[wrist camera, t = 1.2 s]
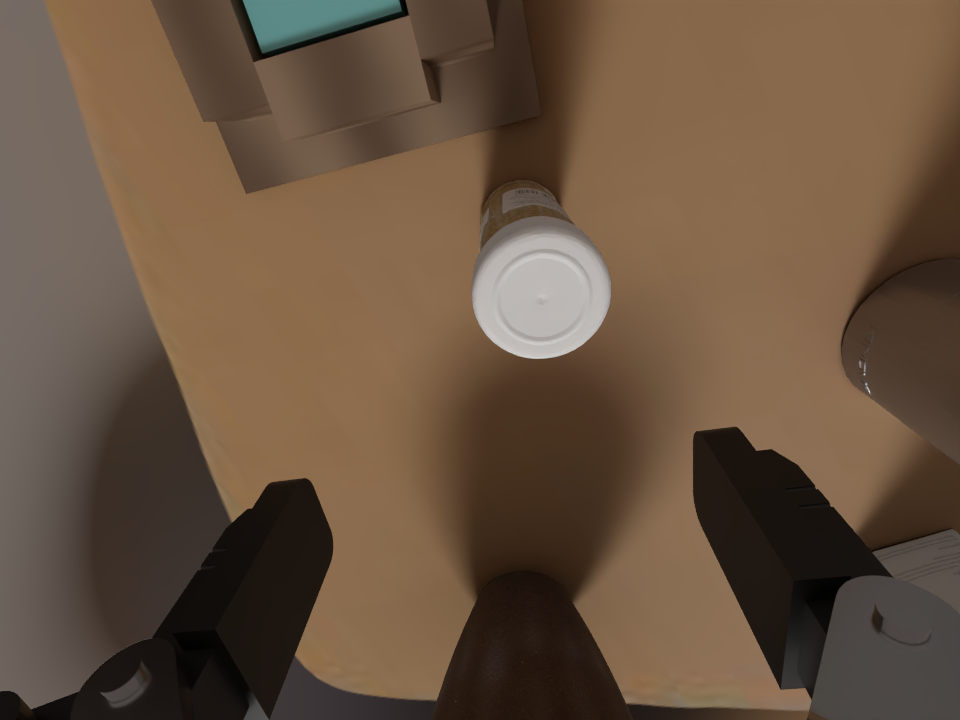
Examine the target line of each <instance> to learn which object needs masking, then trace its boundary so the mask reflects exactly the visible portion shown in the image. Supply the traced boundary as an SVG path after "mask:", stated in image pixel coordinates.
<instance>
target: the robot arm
mask: <svg viewBox="0 0 960 720" xmlns="http://www.w3.org/2000/svg"><path fill="white" fill-rule="evenodd" d="M841 351H842V364H843V367H844V370H845V373H846V375H847V377H848V378H849V379H850V381H851V382H852V383H853V385H854V386H855V387H857V388H858V389H859V390H861V391H862V392H863V393H865V394H866V395H867V396H869V397H870V398H871V399H873V400H874V401H875V402H877V403H878V404H879V405H880V406H882V407H883V408H884V409H886V410H887V411H888V412H890V413H891V414H892V415H894V416H895V417H896V418H898V419H899V420H900V421H901V422H902V423H904V424H905V425H906V426H908V427H909V428H910V429H912V430H913V431H914V432H916V433H917V434H918V435H920V436H921V437H922V438H924V439H925V440H926V441H928V442H929V443H930V444H932V445H933V446H934V447H936V448H937V449H938V450H940V451H941V452H943V453H944V454H945V455H947V456H948V457H949V458H951V459H952V460H953V461H955V462H956V463H957V464H959V465H960V259H940V260H935V261H930V262H925V263H922V264H920V265H917V266H914V267H912V268H909V269H906V270H905V271H903V272H901V273H899V274H898V275H896V276H894V277H892V278H891V279H889V280H888V281H886V282H885V283H884V284H883V285H881V286H880V287H879V288H877V289H876V290H875V291H874V292H873V293H872V294H871V295H870V296H869V297H868V298H867V299H866V300H865V301H864V302H863V303H862V304H861V305H860V307H859V308H858V310H857V311H856V313H855V314H854V316H853V317H852V319H851V321H850V323H849V325H848V328H847V330H846V332H845V335H844V339H843V344H842V350H841ZM693 496H694V504H695V508H696V513H697V516H698V519H699V522H700V524H701V527H702V529H703V531H704V533H705V535H706V537H707V539H708V541H709V543H710V545H711V547H712V549H713V551H714V553H715V555H716V557H717V560H718V562H719V564H720V566H721V568H722V570H723V572H724V574H725V576H726V578H727V580H728V582H729V584H730V586H731V588H732V590H733V592H734V594H735V597H736V599H737V601H738V603H739V605H740V607H741V609H742V611H743V613H744V615H745V617H746V619H747V621H748V623H749V625H750V627H751V629H752V632H753V634H754V636H755V638H756V640H757V642H758V644H759V646H760V648H761V650H762V652H763V654H764V656H765V658H766V660H767V662H768V664H769V666H770V669H771V671H772V673H773V675H774V677H775V679H776V681H777V683H778V685H779V687H780V689H781V690H782V689H798V688H806V690H807V692H808V694H809V696H810V698H811V700H812V701H811V706H810V710H809V714H808V718H807V720H960V614H959V613H958V612H957V611H956V610H955V609H954V608H953V607H952V606H950V605H949V604H948V603H946V602H945V601H944V600H942V599H941V598H940V597H938V596H936V595H935V594H933V593H931V592H930V591H928V590H926V589H923V588H921V587H919V586H917V585H915V584H912V583H909V582H907V581H903V580H900V579H896V578H894V577H893V576H892V575H891V574H890V573H889V572H888V571H887V569H886V568H885V567H884V566H883V565H882V563H881V562H880V561H879V560H878V559H877V558H876V556H875V555H874V554H873V553H872V552H871V551H870V549H869V548H868V547H867V546H866V545H865V544H864V542H863V541H862V540H861V539H860V538H859V536H858V535H857V534H856V533H855V532H854V531H853V529H852V528H851V527H850V526H849V525H848V524H847V522H846V521H845V520H844V519H843V518H842V516H841V515H840V514H839V513H838V512H837V511H836V509H835V508H834V507H831V506H830V502H829V501H828V500H827V499H826V498H825V497H824V495H823V494H822V493H821V492H820V491H819V489H817V490H816V488H815V485H814V484H813V482H812V481H811V480H810V479H809V478H808V477H807V475H806V474H805V473H804V472H803V471H802V469H801V468H800V467H799V466H798V465H797V464H795V463H794V462H792V461H790V460H789V459H787V458H785V457H784V456H782V455H780V454H779V453H777V452H775V451H774V450H772V449H770V450H761V451H756V450H755V449H754V447H753V446H752V445H751V443H750V442H749V441H748V439H747V438H746V437H745V435H744V434H743V433H742V432H741V430H740V429H739V428H737V427H729V428H721V429H713V430H704V431H696V432H695V434H694V438H693ZM332 555H333V537H332V532H331V529H330V527H329V524H328V522H327V519H326V517H325V514H324V512H323V509H322V507H321V504H320V502H319V499H318V497H317V494H316V492H315V489H314V487H313V485H312V483H311V482H310V480H308V479H306V478H302V479H294V480H286V481H278V482H271V483H269V484H268V485H267V487H266V488H265V489H264V491H263V493H262V494H261V496H260V497H259V499H258V500H257V502H256V503H255V505H254V506H253V508H252V509H247V510H246V511H245V512H244V513H243V514H241V515H240V516H239V517H238V518H237V519H236V520H235V521H234V522H232V523H231V524H230V525H229V526H228V527H227V528H226V529H225V531H224V532H223V534H222V536H221V537H220V538H219V540H218V541H217V543H216V544H215V546H214V547H213V552H212V553H209V554H208V556H207V558H206V559H205V560H204V562H203V563H202V565H201V570H198V571H197V572H196V574H195V575H194V577H193V578H192V579H191V581H190V583H189V584H188V585H187V587H186V589H185V590H184V591H183V593H182V594H181V596H180V597H179V599H178V600H177V602H176V603H175V605H174V606H173V608H172V609H171V611H170V612H169V614H168V615H167V617H166V618H165V619H164V621H163V622H162V624H161V625H160V627H159V628H158V630H157V631H156V633H155V634H154V636H153V637H152V638H151V639H146V640H142V641H139V642H137V643H134V644H132V645H130V646H128V647H126V648H124V649H123V650H121V651H119V652H118V653H116V654H115V655H113V656H112V657H111V658H109V659H108V660H107V661H105V662H104V663H103V664H102V665H101V666H100V667H99V668H98V669H97V670H96V671H95V672H94V673H93V674H92V675H91V676H90V677H89V678H88V679H87V681H86V682H85V683H84V685H83V686H82V687H81V689H80V691H79V692H77V693H74V694H71V695H69V696H66V697H63V698H61V699H58V700H55V701H53V702H50V703H47V704H45V705H42V706H39V707H37V708H34V709H30V708H29V707H28V706H27V704H26V703H25V702H24V701H23V700H22V699H21V698H20V697H19V696H18V695H17V694H16V693H14V692H11V691H1V692H0V720H269V719H270V717H271V714H272V711H273V709H274V706H275V704H276V701H277V699H278V696H279V694H280V691H281V688H282V686H283V683H284V681H285V678H286V675H287V673H288V670H289V668H290V665H291V663H292V660H293V658H294V655H295V652H296V650H297V647H298V645H299V642H300V640H301V637H302V635H303V632H304V629H305V627H306V624H307V622H308V619H309V617H310V614H311V611H312V609H313V606H314V604H315V601H316V599H317V596H318V593H319V591H320V588H321V586H322V583H323V581H324V578H325V576H326V573H327V570H328V568H329V565H330V563H331V559H332Z"/></svg>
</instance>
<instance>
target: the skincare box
mask: <svg viewBox="0 0 960 720" xmlns="http://www.w3.org/2000/svg"><path fill="white" fill-rule="evenodd" d="M872 553H873V554H874V555H875V556H876V558H877V559H878V560H879V561H880V562H881V563H882V565H883V566H884V567H885V568H886V569H887V571H888V572H889V573H890V574H891V575H892V576H893V577H894V578H896V579H900V580H903V581H907V582H909V583H912V584H915V585H917V586H919V587H921V588H923V589H926V590H928V591H930V592H931V593H933V594H935V595H936V596H938V597H940V598H941V599H942V600H944V601H945V602H946V603H948V604H949V605H950V606H952V607H953V608H954V609H955V610H956V611H957V612H958V613H959V614H960V534H959V533H957V532H956V531H955V530H954V529H950V530H947V531H943V532H940V533H936V534H933V535H930V536H926V537H923V538H919V539H916V540H912V541H909V542H905V543H902V544H898V545H895V546H891V547H888V548H884V549H881V550H877V551H874V552H872Z"/></svg>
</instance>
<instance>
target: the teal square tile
mask: <svg viewBox="0 0 960 720" xmlns="http://www.w3.org/2000/svg"><path fill="white" fill-rule="evenodd" d="M243 2H244V5H245V8H246V10H247V13H248V16H249V19H250V21H251V24H252V27H253V29H254V32H255V35H256V38H257V40H258V43H259V46H260V48H261V51H262V53H263V54H266V55H270V56H274V55H277V54H280V53H284V52H287V51H290V50H294V49H297V48H300V47H304V46H307V45H310V44H314V43H317V42H320V41H324V40H327V39H330V38H334V37H337V36H340V35H344V34H347V33H350V32H353V31H357V30H360V29H363V28H367V27H370V26H373V25H377V24H380V23H383V22H387V21H390V20H393V19H397V18H400V17H403V16H406V14H405V10H404V7H403V3H402V0H243Z"/></svg>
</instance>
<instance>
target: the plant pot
mask: <svg viewBox="0 0 960 720" xmlns="http://www.w3.org/2000/svg"><path fill="white" fill-rule="evenodd" d="M431 720H633V718H632V716H631V714H630V712H629V709H628V707H627V705H626V703H625V700H624V698H623V696H622V694H621V692H620V689H619V687H618V685H617V683H616V681H615V679H614V677H613V675H612V673H611V671H610V669H609V667H608V665H607V663H606V661H605V659H604V657H603V655H602V653H601V651H600V649H599V647H598V646H597V644H596V642H595V640H594V638H593V636H592V634H591V633H590V631H589V629H588V627H587V626H586V624H585V622H584V621H583V619H582V617H581V616H580V614H579V612H578V611H577V609H576V608H575V606H574V604H573V603H572V601H571V600H570V598H569V597H568V595H567V594H566V592H565V591H564V589H563V588H562V587H561V586H560V585H559V584H558V583H557V582H556V581H554V580H553V579H551V578H549V577H546V576H544V575H541V574H537V573H532V572H515V573H510V574H506V575H503V576H500V577H498V578H496V579H494V580H493V581H491V582H490V583H489V584H488V585H487V586H486V587H485V588H484V589H483V590H482V592H481V594H480V596H479V597H478V599H477V601H476V603H475V605H474V607H473V609H472V612H471V614H470V616H469V618H468V620H467V622H466V625H465V627H464V629H463V631H462V634H461V636H460V639H459V641H458V643H457V646H456V648H455V651H454V653H453V656H452V659H451V662H450V664H449V667H448V670H447V672H446V675H445V678H444V681H443V684H442V687H441V690H440V693H439V696H438V699H437V702H436V706H435V709H434V712H433V715H432V719H431Z"/></svg>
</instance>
